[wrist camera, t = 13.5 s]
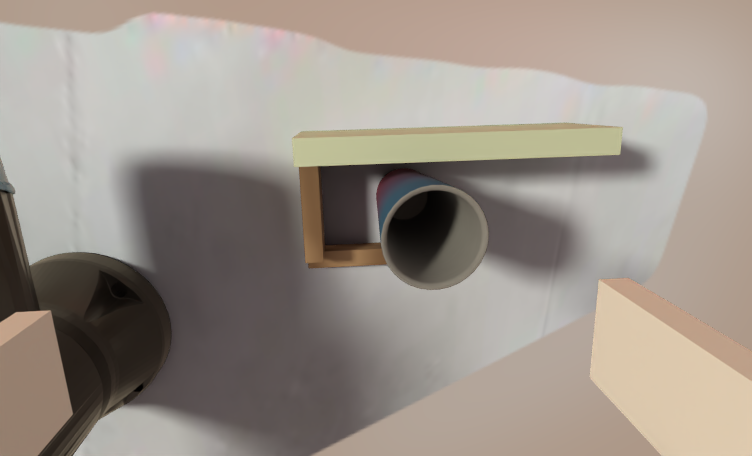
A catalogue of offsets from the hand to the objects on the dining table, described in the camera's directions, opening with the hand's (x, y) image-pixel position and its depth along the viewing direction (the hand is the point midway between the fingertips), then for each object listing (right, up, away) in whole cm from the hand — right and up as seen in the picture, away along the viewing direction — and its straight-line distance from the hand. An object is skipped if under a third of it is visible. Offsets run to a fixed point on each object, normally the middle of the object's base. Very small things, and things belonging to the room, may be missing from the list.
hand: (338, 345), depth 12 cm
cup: (+3, +6, +33) cm, 34 cm away
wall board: (+6, +11, +32) cm, 34 cm away
